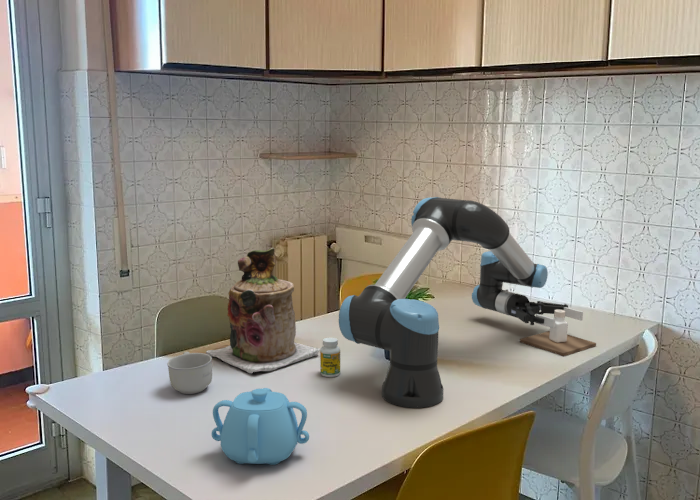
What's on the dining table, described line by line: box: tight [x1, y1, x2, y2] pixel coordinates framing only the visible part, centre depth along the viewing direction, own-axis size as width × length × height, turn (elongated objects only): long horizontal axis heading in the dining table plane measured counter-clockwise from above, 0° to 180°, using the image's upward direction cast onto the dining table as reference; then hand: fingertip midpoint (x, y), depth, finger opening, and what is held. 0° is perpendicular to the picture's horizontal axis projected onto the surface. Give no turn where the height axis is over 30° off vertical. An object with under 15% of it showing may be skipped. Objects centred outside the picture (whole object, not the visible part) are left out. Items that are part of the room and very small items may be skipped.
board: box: [519, 330, 597, 357], centre depth 209 cm, size 16×16×1 cm
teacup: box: [166, 351, 213, 395], centre depth 172 cm, size 14×11×8 cm
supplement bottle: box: [319, 337, 341, 378], centre depth 182 cm, size 5×5×10 cm
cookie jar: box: [205, 247, 321, 374], centre depth 194 cm, size 25×25×32 cm
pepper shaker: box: [549, 310, 569, 343], centre depth 208 cm, size 4×4×10 cm
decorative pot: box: [211, 387, 310, 466], centre depth 138 cm, size 16×16×14 cm
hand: (568, 319), depth 205 cm, fingers open, 13 cm apart
